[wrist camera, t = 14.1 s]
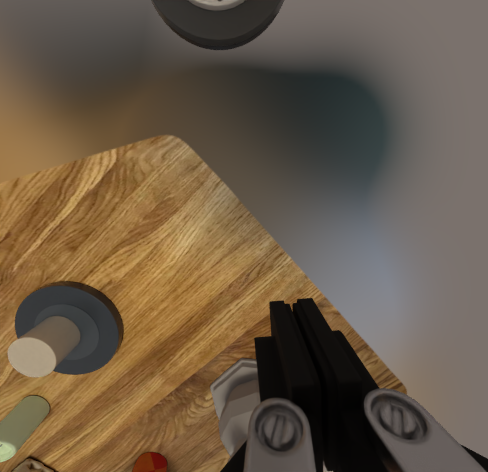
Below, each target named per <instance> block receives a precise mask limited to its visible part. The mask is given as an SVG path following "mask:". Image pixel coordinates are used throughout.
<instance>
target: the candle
mask: <svg viewBox="0 0 488 472" xmlns="http://www.w3.org/2000/svg"><path fill="white" fill-rule="evenodd" d="M49 410H50V407H49V404H48V403H47V401H46V400H45V399H43V398H41V397H39V396H28V397H26V398H24V399H23V400H22V401H21V402H20V403H19V404H18V405H17V406H16V407H15V408H14V409H13V410H12V411H11V412H10V413H9V414H8V415H7V416H6V417H5V418H4V419H3V420H2V421H1V422H0V462H3V461H6V460H8V459H10V458H11V457H13V456H14V455H15V454H16V452H17V451H18V450H19V449H20V447H21V446H22V445H23V444H24V443H25V441H26V440H27V439H28V438H29V436H30V435H31V434H32V433H33V432H34V430H35V429H36V428H37V427H38V425H39V424H40V423H41V422H42V421H43V419H44V418H45V417H46V416H47V414H48V413H49Z"/></svg>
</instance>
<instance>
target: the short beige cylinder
mask: <svg viewBox="0 0 488 472" xmlns="http://www.w3.org/2000/svg"><path fill="white" fill-rule="evenodd" d="M79 342H80V331H79V329H78V327H77V326H76V325H75V323H73V322H72V321H71V320H69V319H67V318H65V317H61V316H52V317H48V318H46V319H45V320H43V321H42V322H40V323H39V324H38V325H36V326H35V327H33V328H32V329H31V330H29V331H28V332H26V333H25V334H24V335H22V336H21V337H19V338H18V339H17V340H15V341H14V342H13V343H12V344H11V345H10V347H9V349H8V359H9V362H10V363H11V365H12V366H13V367H14V369H16V370H17V371H18V372H20V373H21V374H23V375H26V376H29V377H43V376H46V375H48V374H49V373H51V372H52V371H53V370H54V369H55V368H56V367H57V366H58V365H59V364H60V363H61V362H62V361H63V360H64V359H65V358H66V357H67V356H68V355H69V354H70V353H71V352H72V350H73V349H74V348H75V347H76V346H77V345H78V344H79Z"/></svg>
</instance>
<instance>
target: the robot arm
mask: <svg viewBox="0 0 488 472" xmlns="http://www.w3.org/2000/svg"><path fill="white" fill-rule="evenodd" d="M188 1H189V2H191V3H192V4H194V5H196V6H198V7H200V8H203V9H207V10H212V11H220V10H227V9H231V8H234V7H236V6H238V5H240V4H241V3H243V2H244V1H245V0H221V1H220V0H188ZM270 320H271V336H268V337H257V338H254V339H255V351H256V362H257V373H258V384H259V394H260V404H259V405H257V406H256V407H255V409H254V410H253V412H252V414H251V416H250V420H249V425H248V435H247V440H246V441H245V442H244V444H243V445H242V446H241V447H240V449H239V450H238V451H237V452H236V453H235V455H234V456H233V457H232V458H231V459H230V461H229V462H228V463H227V464H226V465H225V467H224V468H223V469H222V470H221V471H220V472H323V461H324V464H325V467H326V469H327V471H333V472H488V459H487V458H485V457H483V456H481V455H479V454H477V453H476V452H474V451H472V450H470V449H468V448H466V447H464V446H462V445H460V444H459V443H458V442H457V441H456V440H455V439H454V438H453V437H452V436H451V435H450V434H449V433H448V432H447V431H446V430H445V429H444V428H443V427H442V426H441V425H440V424H439V423H438V422H437V421H436V420H435V419H434V418H433V416H432V415H430V413H429V412H428V411H427V410H426V409H424V407H422V406H421V405H420V404H419V403H418V402H417V401H415V400H414V399H412V398H411V397H409V396H407V395H406V394H404V393H401V392H398V391H396V390H392V389H386V388H382V389H379V387H378V386H377V384H376V383H375V381H374V380H373V378H372V377H371V375H370V374H369V372H368V371H367V369H366V368H365V366H364V365H363V363H362V362H361V360H360V359H359V357H358V356H357V354H356V353H355V351H354V350H353V348H352V347H351V345H350V344H349V342H348V341H347V339H346V338H345V336H344V335H343V333H342V332H341V331H339V330H337V331H332V330H331V328H330V327H329V325H328V324H327V322H326V320H325V319H324V317H323V315H322V314H321V312H320V310H319V309H318V307H317V306H316V304H315V302H314V301H313V299H312V298H306V299H298V300H297V303H293V312H292V310H291V307H290V305H289V304H285V303H284V301H272V302H270Z"/></svg>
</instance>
